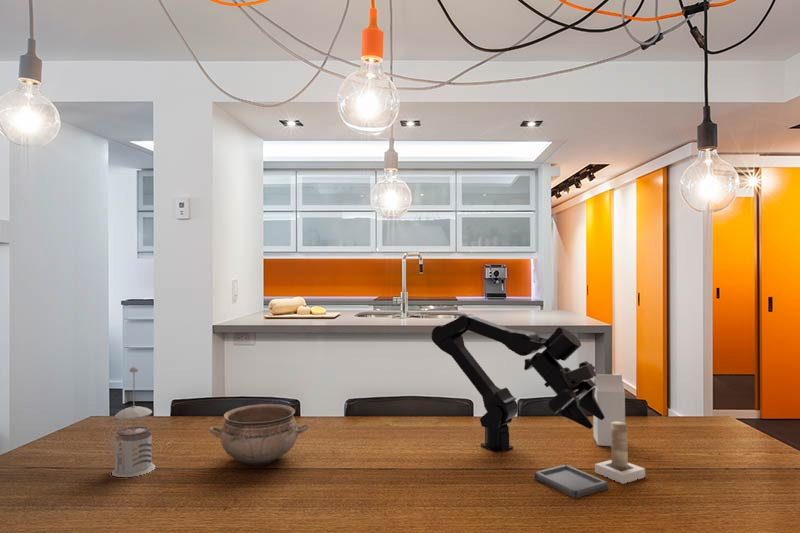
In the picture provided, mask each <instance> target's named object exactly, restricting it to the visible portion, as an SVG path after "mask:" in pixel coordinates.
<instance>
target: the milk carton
mask: <svg viewBox="0 0 800 533" xmlns="http://www.w3.org/2000/svg"><path fill="white" fill-rule="evenodd" d="M593 383H594V384H595V386H594V387H595V395H594V396H595V399H596V401H597V403H598V405H599V407H600V409H601V411H602V413H603V415H604V417H605V418H604V419H603V420H600V419H599V418H597V417H595V416H594V415H592V417H593V418H592V420H593V423H592V425H593V427H592V428H593V439H594V440H595V441H594V442H596V445H597V446H602V447H604V446H605V447H611V422H624V423H626V399H625V398H626V391H625V387H624V383H623V375H622V374H607V373H606V374H605V373H603V374H602V373H596V376H594V380H593ZM594 387H593V388H594ZM593 388H592V389H593Z"/></svg>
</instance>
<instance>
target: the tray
mask: <svg viewBox="0 0 800 533" xmlns="http://www.w3.org/2000/svg"><path fill="white" fill-rule="evenodd" d="M534 479H535V480H537V481H538V482H541V483H543V484H545V485H548V486H549V487H551V488H553V489H556V490H557V491H559V492H562V493H563V494H565V495H567V496H570V497H571V498H573V499H578V498H581V497H584V496H588V495H591V494H594V493H599V492H601V491H605V490H608V489H609V488H608V481H606V480H604V479H602V478H599V477H597V476H595V475H592V474H589V473H588V472H586V471H583V470H580V469H578V468H576V467H574V466H572V465H568V463H567V464H561V465H557V466H554V467H550V468H545V469H542V470H538V471H534Z"/></svg>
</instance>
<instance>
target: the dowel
mask: <svg viewBox="0 0 800 533" xmlns="http://www.w3.org/2000/svg"><path fill="white" fill-rule="evenodd" d="M628 436H629V435H628V423H626V422H625V423H624V422H611V446H610V448H611V460H612V468H614V469H616V470H619V471H621V472H622V471H625V470H628V463H629V460H628V459H629V457H628V456H629V454H628V446H629V445H628V442H629V441H628V439H629V438H628Z"/></svg>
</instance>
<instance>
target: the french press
mask: <svg viewBox="0 0 800 533" xmlns="http://www.w3.org/2000/svg"><path fill="white" fill-rule="evenodd" d="M137 372H139V368H138V367H137V366H131V367H130V368H129V373H133V376H132V377H133V380H132V381H133V384H132V385H133V390H132V391H133V395H132V397H133V400H132V402H133V405H132V406H129V407H126V408H124V409H122V410H120V411H118V412H117V413H116V414H115V415H114V417H115V418H116V420H121V421H130V420H132V424H133V425H132V426H127V427H125V425H124V424H120V425H119V424H118V423H115V424H114V425H113V426H112V427H111V429H110V430H109V432H108V434H107V439H106V440H107V441H106V445H107V446H106V447H107V450H108V451H109V453H110V454H111V455H113V456H114V457H115V459H114V461H115V462H114V465H115V467H114V469H113V470H112V471H111V472H112V475H114V476H117V477H132V476H138V477H140V476H139V475H142V476H144V475H143V474H145V475H147V474H146V473H148V474H150V473H152V472H153V471H155V470H154V469H156V468H157V466H156V465H155V464H154V462H152V459H153V458H152V443H153V442H152V441H153V440H152V438H153V437H152V436H153V435H152V433H151V432H149V431H150V430H151V428H150V427H149V426H147V425H135V420H136V419H137V420H138V419H142V418H146V417H148V416H151V414H152V413H153V411H152V409H150V408H148V407H145V406H144V407H143V406H136V405H135V373H137ZM115 426H116V428H117V429H116V430H115V432H114V433H113V438H112V449H113V451H114V453H113V452H112V451H111V449H110V445H109V439H110V436H111V433H112V430H113V429H114V427H115ZM116 434H117V437H116ZM120 441H121V442H120ZM120 446H121V447H120ZM155 467H156V468H155ZM152 470H153V471H152ZM151 471H152V472H151ZM149 472H150V473H149Z"/></svg>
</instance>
